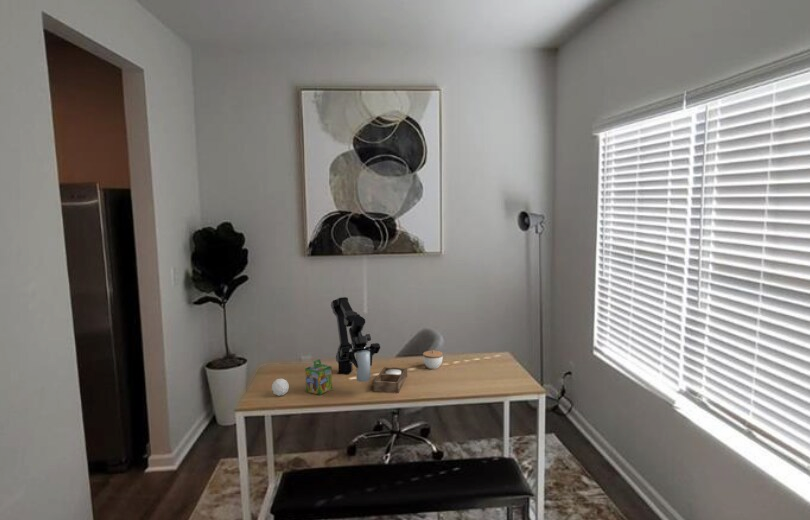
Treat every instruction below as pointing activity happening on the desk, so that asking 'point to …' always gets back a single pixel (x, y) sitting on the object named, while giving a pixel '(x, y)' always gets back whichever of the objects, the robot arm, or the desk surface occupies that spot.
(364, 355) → the pale blue cylinder
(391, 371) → the bowl
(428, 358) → the lidded jar
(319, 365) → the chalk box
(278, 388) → the geometric ball
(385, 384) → the brown wooden tray
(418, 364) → the desk surface
